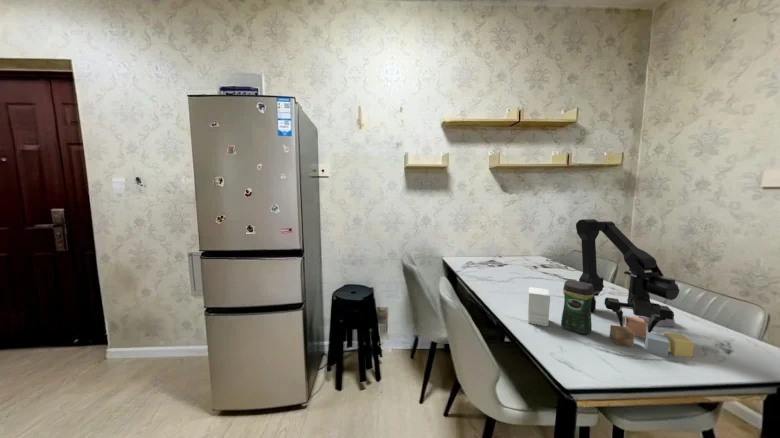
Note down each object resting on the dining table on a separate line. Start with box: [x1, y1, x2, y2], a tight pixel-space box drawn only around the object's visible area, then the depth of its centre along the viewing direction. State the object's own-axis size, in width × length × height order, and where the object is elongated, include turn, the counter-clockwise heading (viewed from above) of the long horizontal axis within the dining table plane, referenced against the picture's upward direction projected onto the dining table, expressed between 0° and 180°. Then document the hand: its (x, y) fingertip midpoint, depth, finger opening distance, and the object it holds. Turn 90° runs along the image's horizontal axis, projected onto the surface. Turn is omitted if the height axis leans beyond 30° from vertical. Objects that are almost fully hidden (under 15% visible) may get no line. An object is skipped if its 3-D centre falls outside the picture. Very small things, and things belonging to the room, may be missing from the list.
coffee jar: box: [560, 279, 595, 335], centre depth 108 cm, size 10×8×19 cm
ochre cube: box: [663, 332, 695, 358], centre depth 94 cm, size 5×5×5 cm
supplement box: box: [526, 286, 551, 327], centre depth 115 cm, size 7×7×13 cm
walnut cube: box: [609, 324, 635, 349], centre depth 100 cm, size 5×5×5 cm
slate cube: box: [644, 331, 669, 358], centre depth 95 cm, size 5×5×5 cm
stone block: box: [638, 316, 676, 328], centre depth 117 cm, size 12×5×10 cm
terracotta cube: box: [624, 315, 648, 338], centre depth 106 cm, size 5×5×5 cm
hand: (634, 329), depth 107 cm, fingers open, 8 cm apart
